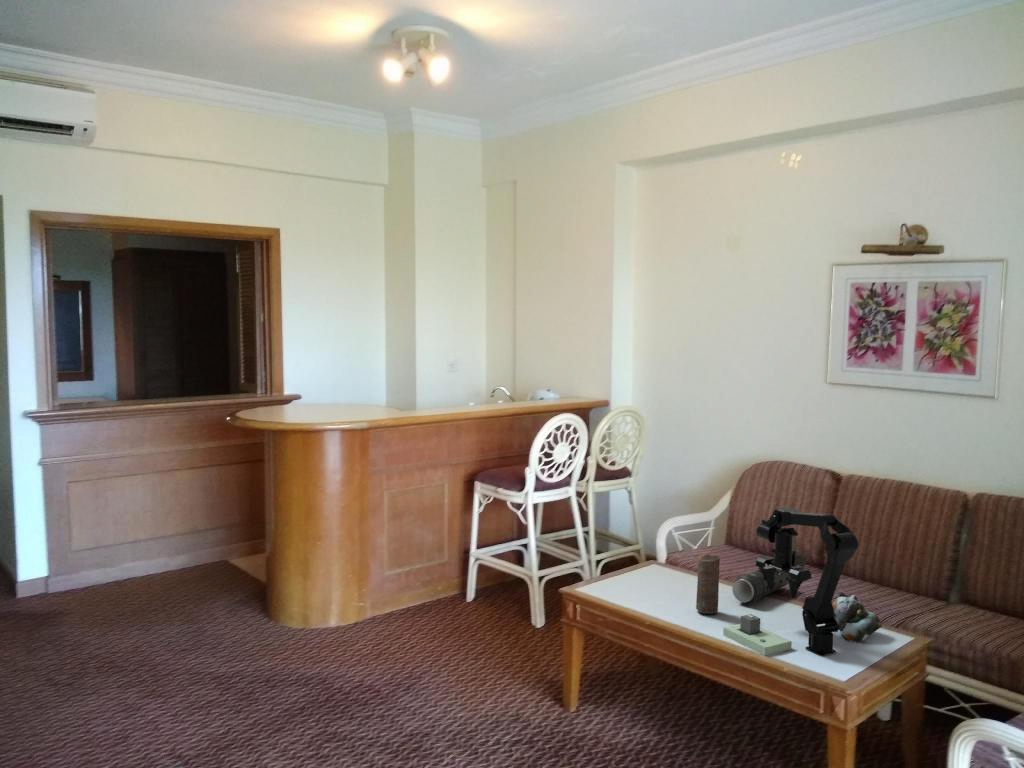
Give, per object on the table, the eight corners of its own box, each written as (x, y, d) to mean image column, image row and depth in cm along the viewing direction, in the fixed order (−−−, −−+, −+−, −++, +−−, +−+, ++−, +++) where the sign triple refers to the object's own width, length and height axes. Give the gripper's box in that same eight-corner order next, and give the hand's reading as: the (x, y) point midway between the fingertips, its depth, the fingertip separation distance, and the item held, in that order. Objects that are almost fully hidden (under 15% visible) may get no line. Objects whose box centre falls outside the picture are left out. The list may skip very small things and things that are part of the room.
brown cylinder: (720, 616, 273) (722, 559, 271) (699, 616, 273) (700, 558, 271) (714, 609, 280) (716, 552, 279) (693, 608, 280) (695, 552, 279)
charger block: (759, 640, 253) (760, 617, 252) (749, 642, 251) (750, 619, 250) (750, 635, 256) (750, 612, 256) (740, 637, 255) (740, 614, 254)
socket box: (791, 649, 246) (791, 640, 245) (764, 655, 241) (765, 646, 240) (749, 629, 262) (749, 621, 261) (723, 635, 256) (723, 626, 256)
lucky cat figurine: (856, 645, 249) (835, 603, 252) (832, 647, 260) (812, 606, 262) (890, 625, 254) (869, 584, 257) (865, 627, 265) (845, 587, 268)
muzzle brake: (791, 592, 300) (792, 564, 299) (754, 609, 280) (755, 580, 279) (767, 586, 307) (768, 559, 306) (729, 603, 287) (730, 574, 286)
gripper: (824, 551, 255) (822, 599, 256) (780, 537, 271) (778, 582, 272) (799, 555, 250) (797, 604, 251) (755, 541, 266) (754, 587, 267)
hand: (782, 594), depth 260 cm, fingers open, 9 cm apart
